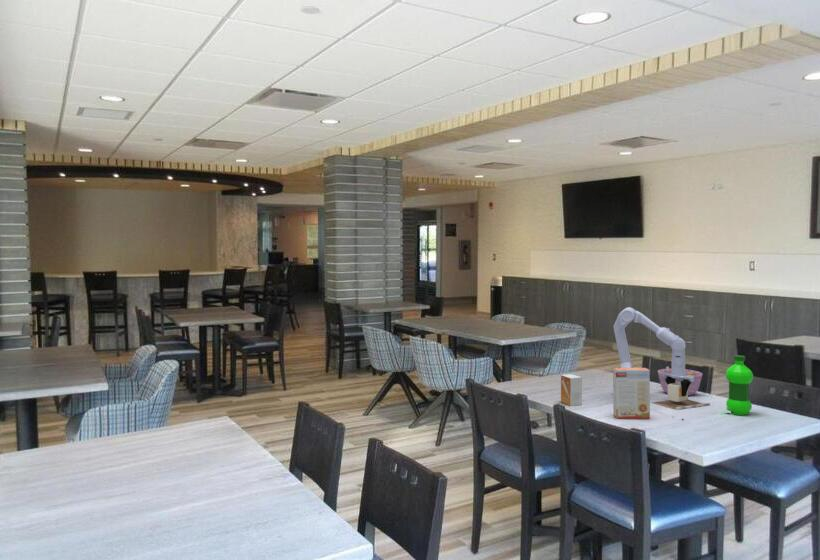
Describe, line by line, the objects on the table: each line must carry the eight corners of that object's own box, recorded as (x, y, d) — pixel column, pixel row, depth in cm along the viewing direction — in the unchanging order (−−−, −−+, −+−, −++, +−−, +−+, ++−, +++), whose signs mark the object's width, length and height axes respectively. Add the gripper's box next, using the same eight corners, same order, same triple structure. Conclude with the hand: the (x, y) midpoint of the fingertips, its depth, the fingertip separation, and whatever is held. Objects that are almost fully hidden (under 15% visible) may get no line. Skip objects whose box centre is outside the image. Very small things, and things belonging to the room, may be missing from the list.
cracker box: (646, 415, 266) (646, 367, 265) (650, 419, 260) (650, 369, 259) (612, 415, 267) (612, 366, 266) (615, 418, 261) (616, 369, 260)
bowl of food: (693, 391, 310) (693, 368, 310) (708, 401, 290) (709, 376, 290) (652, 391, 312) (652, 368, 312) (664, 400, 292) (664, 376, 292)
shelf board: (677, 413, 268) (677, 408, 268) (651, 405, 282) (651, 400, 282) (710, 408, 276) (710, 403, 276) (683, 401, 290) (683, 396, 290)
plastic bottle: (738, 417, 261) (739, 358, 260) (719, 411, 272) (720, 354, 271) (757, 415, 264) (758, 357, 263) (738, 409, 274) (739, 353, 273)
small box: (560, 402, 290) (560, 374, 290) (572, 401, 292) (572, 373, 292) (570, 406, 283) (570, 378, 282) (582, 405, 285) (582, 377, 284)
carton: (678, 401, 276) (678, 386, 276) (667, 399, 280) (667, 384, 280) (688, 399, 281) (688, 384, 280) (677, 397, 285) (677, 382, 285)
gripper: (658, 363, 283) (658, 393, 284) (688, 368, 272) (688, 399, 272) (667, 362, 287) (667, 391, 288) (697, 366, 276) (696, 396, 276)
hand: (678, 394), depth 280 cm, fingers closed on carton, 5 cm apart
